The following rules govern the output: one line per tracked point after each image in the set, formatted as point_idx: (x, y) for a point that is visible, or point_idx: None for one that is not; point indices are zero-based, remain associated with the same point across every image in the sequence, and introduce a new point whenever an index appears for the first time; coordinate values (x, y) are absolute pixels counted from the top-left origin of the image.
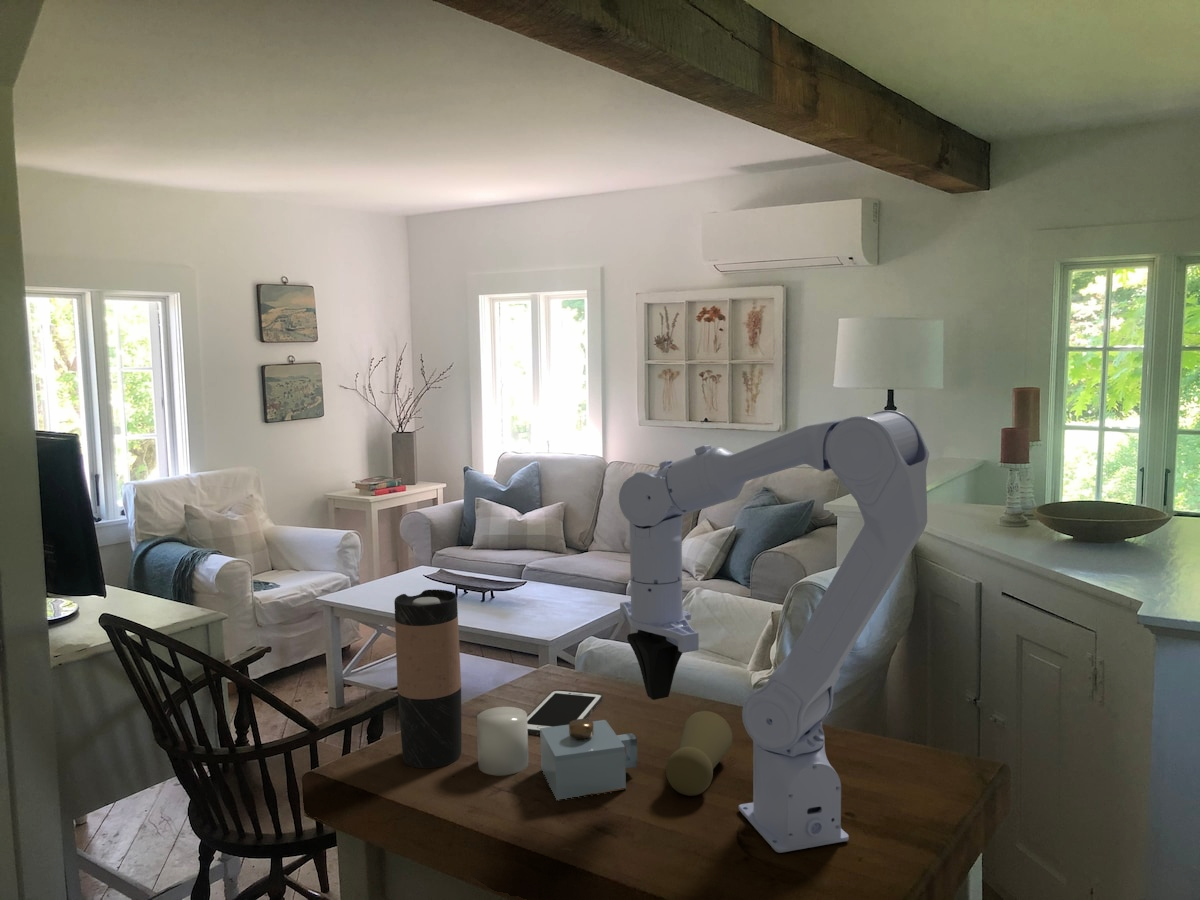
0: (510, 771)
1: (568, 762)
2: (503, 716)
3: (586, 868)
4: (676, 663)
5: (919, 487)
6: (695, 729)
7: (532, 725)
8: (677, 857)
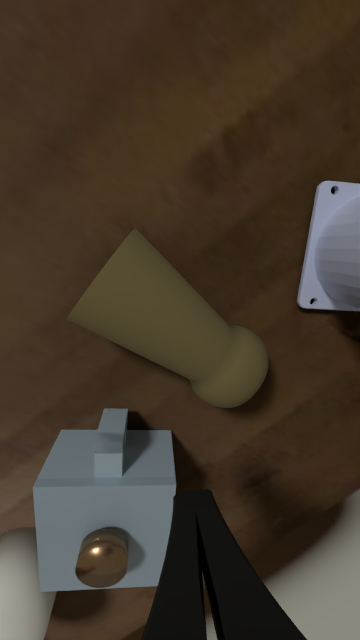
0: None
1: None
2: None
3: (322, 511)
4: (284, 613)
5: None
6: (157, 337)
7: None
8: (354, 423)
